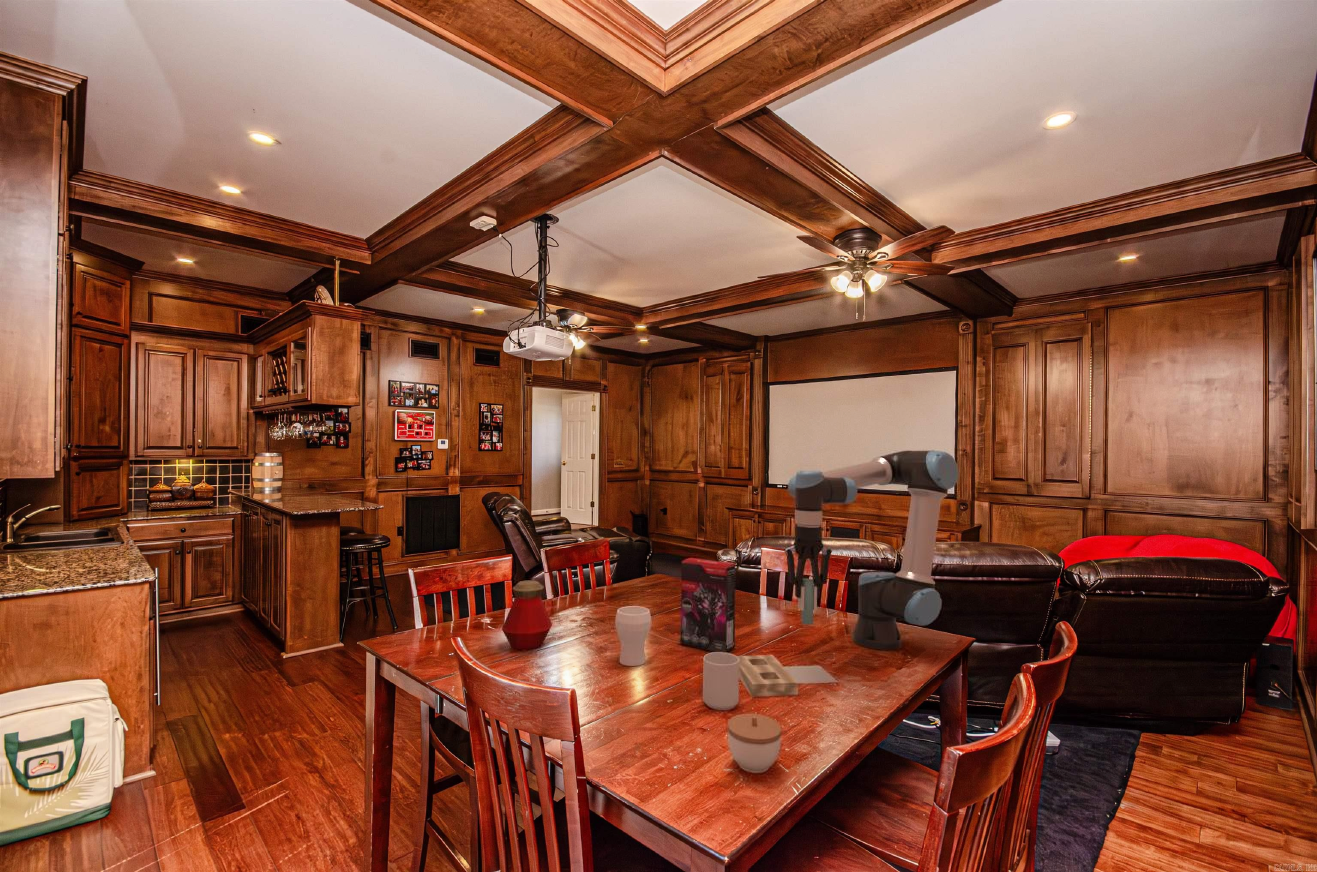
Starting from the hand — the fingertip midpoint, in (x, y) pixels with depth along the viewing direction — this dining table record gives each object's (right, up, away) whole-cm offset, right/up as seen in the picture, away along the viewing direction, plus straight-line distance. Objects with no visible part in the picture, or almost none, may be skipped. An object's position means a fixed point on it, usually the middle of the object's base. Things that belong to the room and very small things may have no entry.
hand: (807, 609), depth 161 cm
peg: (0, -4, 0) cm, 4 cm away
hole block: (-13, -18, -5) cm, 23 cm away
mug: (-26, -18, -18) cm, 36 cm away
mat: (0, -19, 0) cm, 19 cm away
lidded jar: (-23, -17, -46) cm, 55 cm away
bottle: (-83, -18, +20) cm, 88 cm away
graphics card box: (-26, -19, +22) cm, 39 cm away
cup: (-49, -18, +8) cm, 53 cm away
